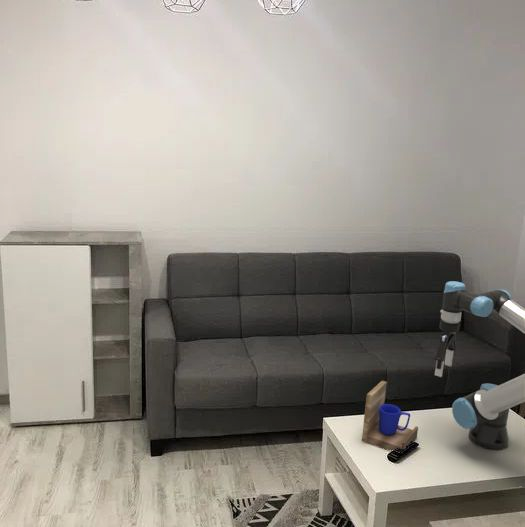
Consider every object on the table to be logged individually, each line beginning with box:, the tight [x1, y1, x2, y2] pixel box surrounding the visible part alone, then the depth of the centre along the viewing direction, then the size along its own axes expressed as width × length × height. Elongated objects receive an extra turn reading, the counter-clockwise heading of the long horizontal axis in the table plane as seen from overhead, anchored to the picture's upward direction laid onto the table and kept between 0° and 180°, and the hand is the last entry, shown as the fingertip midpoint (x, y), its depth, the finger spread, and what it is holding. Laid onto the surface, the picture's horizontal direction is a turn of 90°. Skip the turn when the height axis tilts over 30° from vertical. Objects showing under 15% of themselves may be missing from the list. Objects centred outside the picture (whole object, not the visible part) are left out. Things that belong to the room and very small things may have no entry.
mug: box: [379, 403, 411, 435], centre depth 242 cm, size 8×12×10 cm
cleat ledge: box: [365, 424, 419, 452], centre depth 242 cm, size 15×16×5 cm
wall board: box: [361, 380, 388, 443], centre depth 245 cm, size 2×16×20 cm, turn 148°
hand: (443, 370), depth 247 cm, fingers open, 13 cm apart
